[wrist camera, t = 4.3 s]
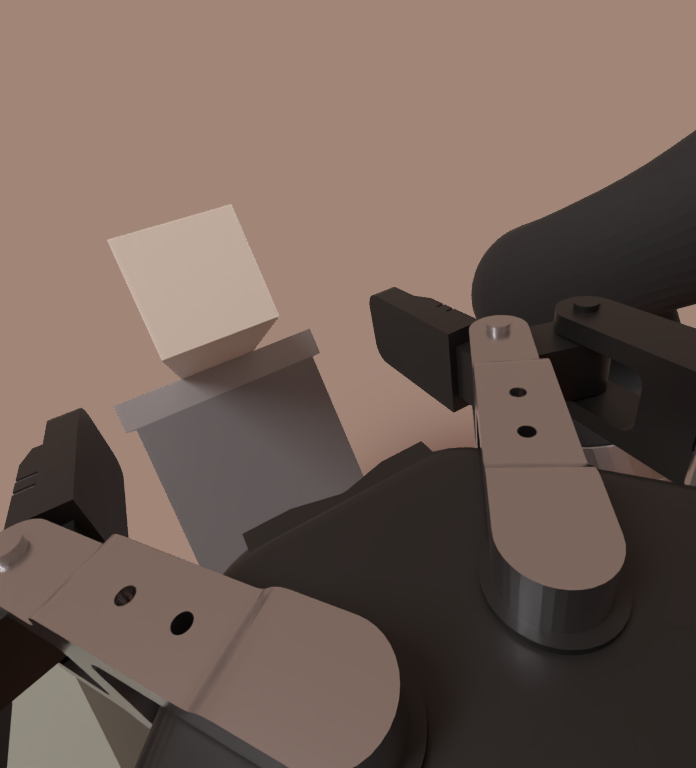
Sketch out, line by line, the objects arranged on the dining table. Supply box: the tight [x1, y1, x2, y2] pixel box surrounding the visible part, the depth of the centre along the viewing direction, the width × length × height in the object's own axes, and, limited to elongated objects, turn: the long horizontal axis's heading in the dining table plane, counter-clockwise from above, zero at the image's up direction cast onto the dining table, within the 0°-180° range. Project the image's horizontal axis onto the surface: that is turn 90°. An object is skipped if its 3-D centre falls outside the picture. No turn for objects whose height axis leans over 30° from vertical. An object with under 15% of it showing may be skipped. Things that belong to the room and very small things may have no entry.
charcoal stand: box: [114, 329, 363, 574], centre depth 33 cm, size 11×16×32 cm
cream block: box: [107, 204, 279, 379], centre depth 26 cm, size 4×25×4 cm, turn 19°
